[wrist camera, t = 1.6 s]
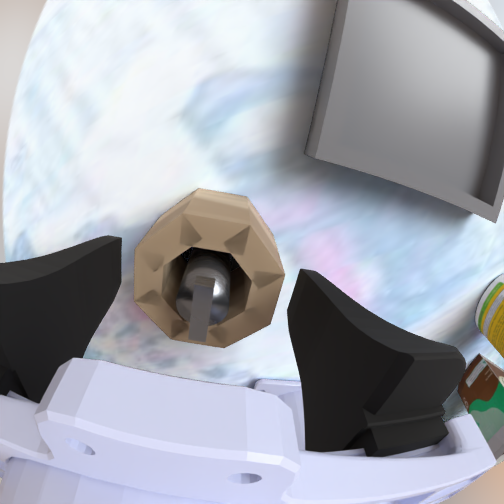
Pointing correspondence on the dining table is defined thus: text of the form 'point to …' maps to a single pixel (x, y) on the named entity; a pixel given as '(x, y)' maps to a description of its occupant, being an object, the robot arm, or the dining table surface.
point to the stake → (204, 291)
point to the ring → (214, 238)
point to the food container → (485, 401)
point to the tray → (416, 99)
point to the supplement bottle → (492, 314)
